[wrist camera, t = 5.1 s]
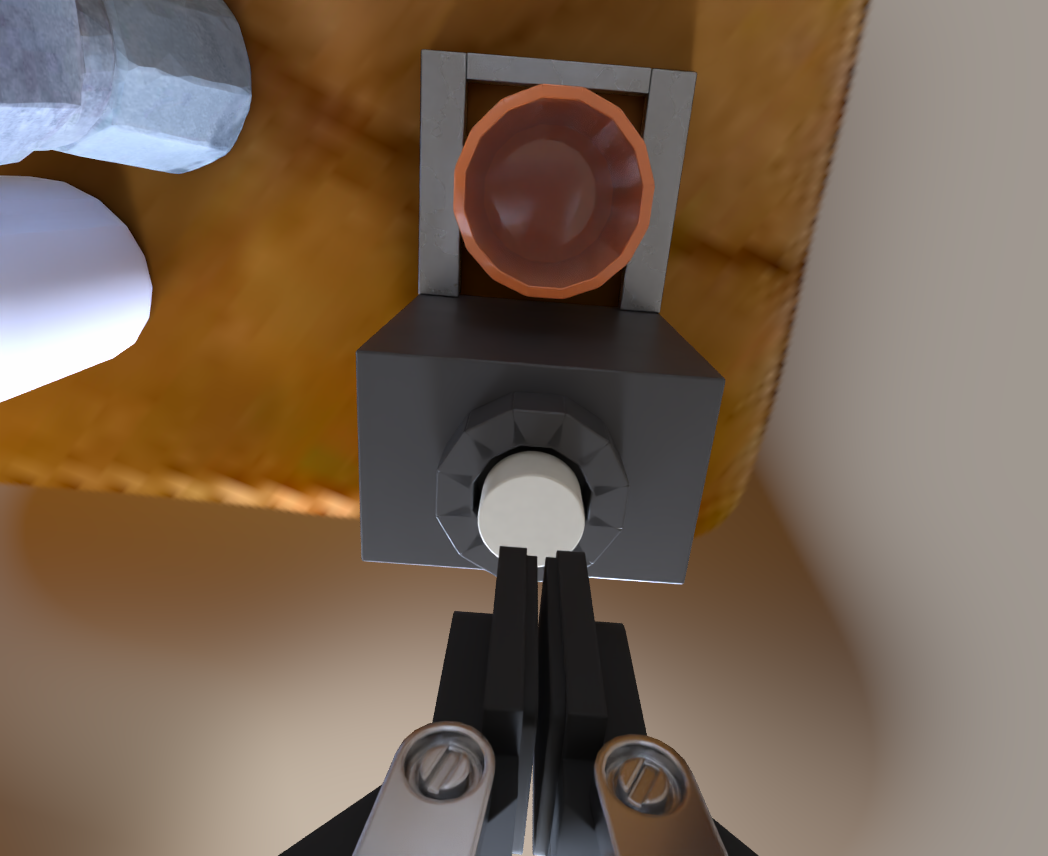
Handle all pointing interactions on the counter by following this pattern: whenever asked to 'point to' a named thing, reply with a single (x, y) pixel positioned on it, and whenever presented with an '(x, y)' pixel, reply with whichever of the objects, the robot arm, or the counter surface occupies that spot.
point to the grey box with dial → (533, 428)
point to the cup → (553, 191)
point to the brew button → (531, 506)
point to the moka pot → (122, 81)
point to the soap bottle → (64, 283)
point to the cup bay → (454, 70)
